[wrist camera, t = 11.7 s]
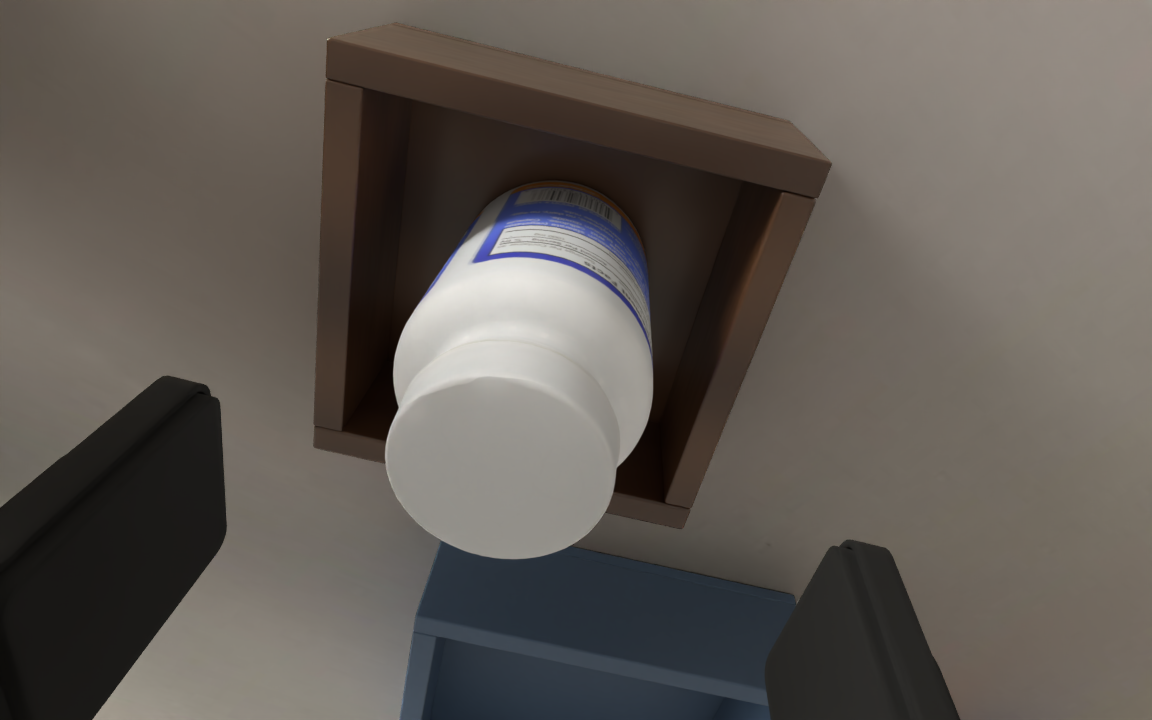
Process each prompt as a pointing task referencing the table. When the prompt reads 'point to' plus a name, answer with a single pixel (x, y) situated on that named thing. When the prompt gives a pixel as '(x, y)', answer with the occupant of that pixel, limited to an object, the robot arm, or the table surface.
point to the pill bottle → (524, 375)
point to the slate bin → (587, 641)
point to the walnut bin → (541, 153)
